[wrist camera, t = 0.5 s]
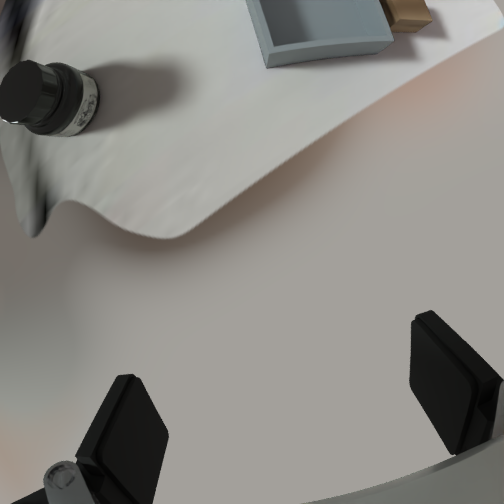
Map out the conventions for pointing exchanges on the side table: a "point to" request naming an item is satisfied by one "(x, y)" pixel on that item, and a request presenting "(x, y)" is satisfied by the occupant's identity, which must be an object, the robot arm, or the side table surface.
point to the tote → (318, 29)
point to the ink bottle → (48, 98)
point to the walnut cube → (406, 14)
